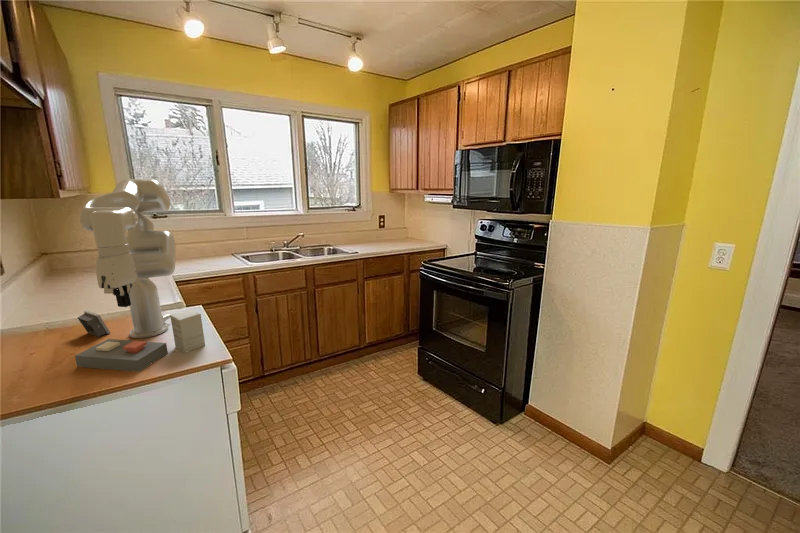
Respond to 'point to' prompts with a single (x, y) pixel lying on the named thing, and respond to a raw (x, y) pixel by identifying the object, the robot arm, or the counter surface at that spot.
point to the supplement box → (187, 330)
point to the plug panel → (121, 356)
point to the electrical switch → (93, 324)
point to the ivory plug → (108, 346)
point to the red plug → (134, 346)
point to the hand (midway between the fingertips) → (124, 305)
